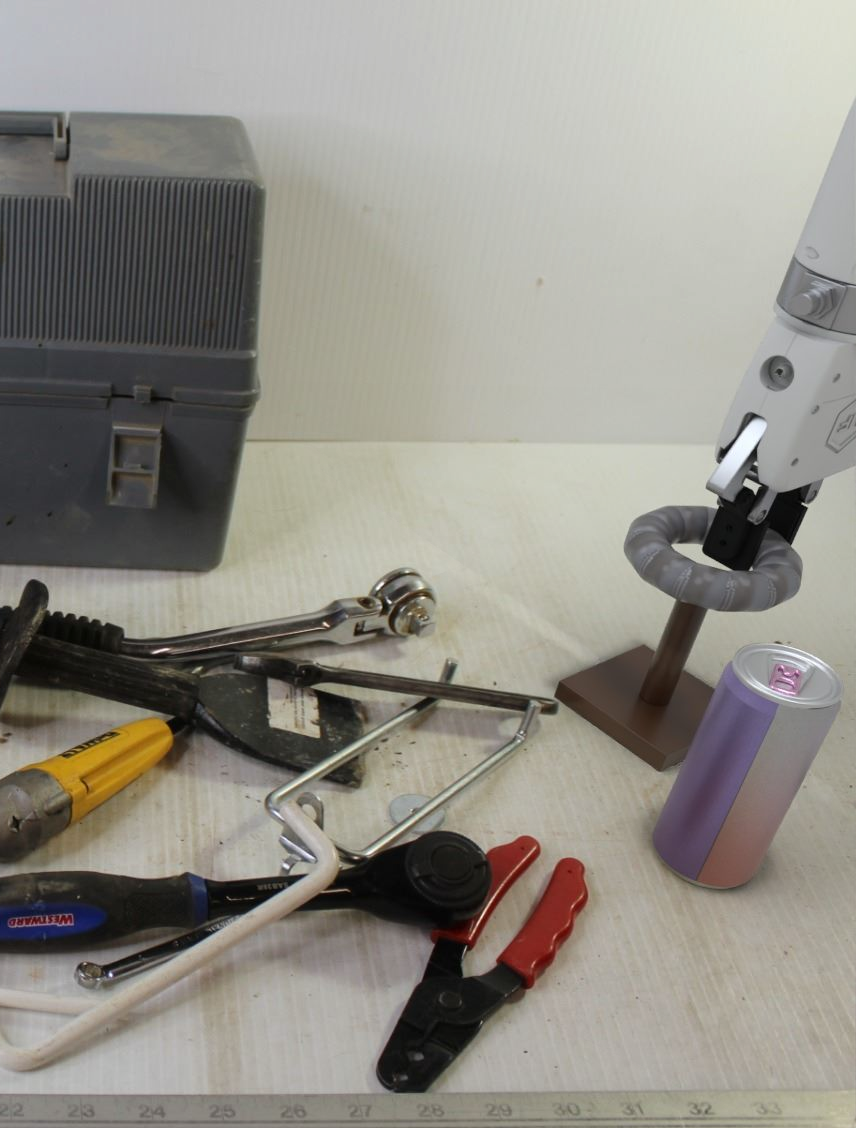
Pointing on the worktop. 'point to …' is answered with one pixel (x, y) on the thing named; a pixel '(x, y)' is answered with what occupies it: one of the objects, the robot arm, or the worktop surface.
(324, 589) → the worktop surface
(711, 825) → the beverage can
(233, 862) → the worktop surface
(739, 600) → the ring
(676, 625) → the stand
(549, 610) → the worktop surface
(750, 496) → the robot arm
